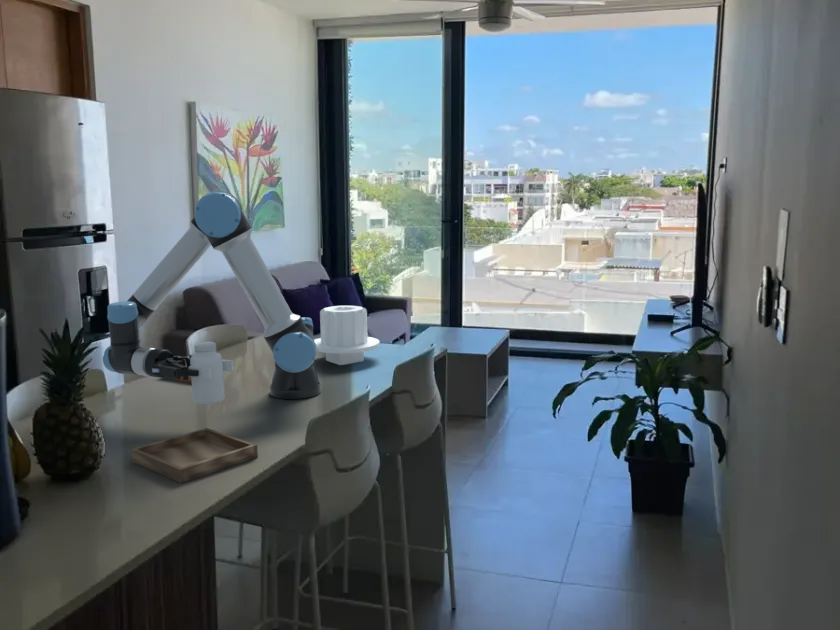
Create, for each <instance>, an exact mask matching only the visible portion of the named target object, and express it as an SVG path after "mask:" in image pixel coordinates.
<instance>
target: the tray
mask: <svg viewBox="0 0 840 630" xmlns="http://www.w3.org/2000/svg"><path fill="white" fill-rule="evenodd" d="M130 449H131V448H130ZM130 452H131V462H132V463H133V464H135V465H139V466H141V467H143V468H146V469H148V470H150V471H152V472H154V473H157V474H158V475H161V476H163V477H166V478H168V479H170V480H173V481H176V482H178V483H179V484H183V483H186V482H189V481H192V480H195V479H197V478H198V479H199V478H202V477H204V476H207V475H209V474H212V473H215V472H218V471H222V470H224V469H227V468H230V467H231V468H232V467H233V466H237V465H239V464H241V463H245V462H248V461H251V460H254V459H257V458H258V457H259V456H258V455H259V453H258V444H255V443H252V442H250V441H247V440H244V439H240V438H238V437H235V436H232V435H229V434H226V433H223V432H220V431H217V430H215V429H212V428H209V427H204V428H202V429H198V430H194V431H190V432H186V433H183V434H181V435H176V436H173V437H170V438H166V439H163V440H159V441H155V442H152V443H149V444H145V445H142V446H138V447H135V448H134V447H133V448H132V449H131V451H130Z"/></svg>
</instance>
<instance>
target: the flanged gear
mask: <svg viewBox="0 0 840 630" xmlns="http://www.w3.org/2000/svg"><path fill="white" fill-rule="evenodd" d="M319 321H320V323H319V324H320V325H319V326H320V327H319V329H320V337H319V338H315V339H314V342H315V344H316V347H317V352H319V353H325V361H327V362H329V363H333V364H335V365H338V366H345V365H352V364H355V363H362V362H364V359H365V358H364V352H369V351H373V350H375V349H377V348H379V347H380V342H381V341H380V340H379V339H378V338H376V337H371V336H368V309H367V308H366V307H363V306H359V305H334V306H333V305H332V306H328V307H324V308H322V309H321V310H320V311H319Z"/></svg>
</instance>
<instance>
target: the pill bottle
mask: <svg viewBox="0 0 840 630" xmlns="http://www.w3.org/2000/svg"><path fill="white" fill-rule="evenodd" d="M222 360H223V356H222V354H220V353H219V352H217V343H216V342H215V341H201V342H200V341H199V342H196V343H195V344H194V354H193V356H192V357H191V359H190V366H195V367H205V368H211V376H212V379H202V378H193V377H191V381H192V383H191V393H192V394H191V395H192V402H193V403H195V404H199V405H210V404H216V403H217V404H218V403H220V402H222V401H224V400H225V384H224V383H225V382H224V380H225V379H224V371H223V362H222Z"/></svg>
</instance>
